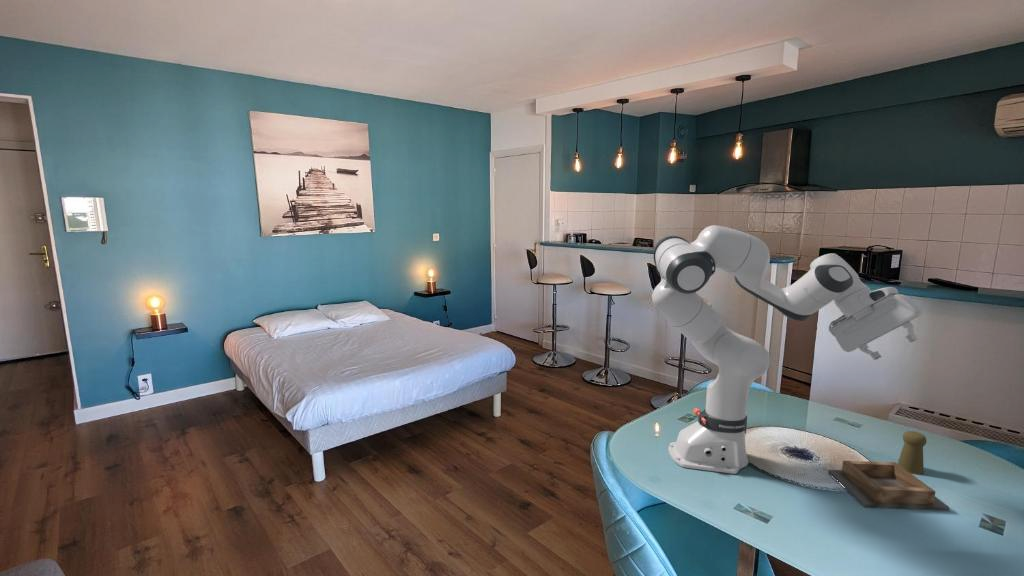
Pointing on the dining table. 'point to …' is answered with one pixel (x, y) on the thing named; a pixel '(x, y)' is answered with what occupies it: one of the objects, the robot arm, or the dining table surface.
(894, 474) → the collar
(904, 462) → the cork
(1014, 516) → the dining table surface
